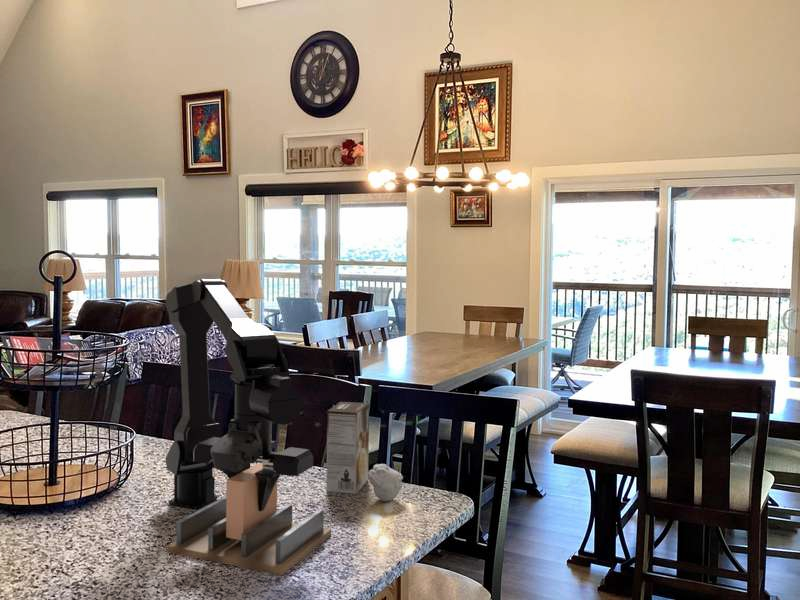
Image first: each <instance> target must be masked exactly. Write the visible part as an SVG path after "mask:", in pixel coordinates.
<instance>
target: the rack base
mask: <svg viewBox="0 0 800 600" xmlns="http://www.w3.org/2000/svg"><path fill="white" fill-rule="evenodd" d="M297 524H299V522H298V523H296V522H292V526H290V527H289V528H287V529H286V530H284V531H283V532H282V533H280V534H279V535H277V536H276V537H275V538H273V539H272V540H270V541H269V542H267V543H266V544H265V545H263V546H262V547H260V548H259V549H258V550H256V551H255V552H253V553H252V554H250V555H249V556H248V557H246V558H244V557H241V540H237V539H231V540H230V541H228V542H226V543H225V544H223V545H222V546H220V547H219V548H217V549H216V550H214V551H209V550H208V529H207V530H206V531H204V532H202V533H201V534H199V535H197V536H195V537H194V538H192V539H190V540H189V541H187V542H185V543H183V544H182V545H178V544H176V540H174V541H173V542H172V543H170V544H168V545H167V547H166V548H167V549H166V550H167V553H170V554H176V555H180V556H184V557H189V558H194V559H195V558H196V559H200V560H205V561H210V562H216V563H219V564H220V563H221V564H225V565H228V566H229V565H230V566H236V567H240V568H243V569H244V568H246V569H250V570H255V571H261V572H266V573H270V574H275V575H280V576H283V575H284V574H286V573H287V571H289V570H290V569H292V567H294V566H295V565H297V564H298V563H299V562H300V561H301V560H303V559H304V558H305V557H307V555H309V554H311V552H313V550H315V549H316V548H317V547H318V546H319V545H321V544H322V543H323V542H324V541H326V540H327V539H328V538H329V537H330V536H331V535H332V529H331V528H325V527H324V530H323V531H322V532H321V533H320V534H318V535H317V536H316V537H315V538H313V539H312V540H311V541H309V542H308V543H307V544H306V545H304V546H303V547H302V548H301V549H299V550H298V551H297V552H295V553H294V554H293V555H292V556H290V557H289V558H288V559H287V560H285V561H284V562H283V563H281V564H275V555H276V539H278V538H279V537H281V536H282V535H283V534H285V533H286V532H288V531H289V530H290V529H292V528H293V527H295V526H296V525H297Z"/></svg>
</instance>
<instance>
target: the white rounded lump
mask: <svg viewBox="0 0 800 600" xmlns="http://www.w3.org/2000/svg"><path fill="white" fill-rule="evenodd" d="M367 473H368V480H367V481H368V482H369V483H370V485H371V486H372V488H373V494H374V495H375V497H376V498H377V499H379V500H380V501H382V502H391V501H394V500H395V499H396V498H397V497H398V495H399V493H400V491H401V490H402V486H403V481H402V480H403V479H404V476H403V475H402V474H401V473H400V472H399V471H397V470H395V469H393V468H391V467H389V466H388V465H387V464H385V463H380V464H379V463H375V464H374V465H373V467H372V469H370V470H368V472H367Z"/></svg>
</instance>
